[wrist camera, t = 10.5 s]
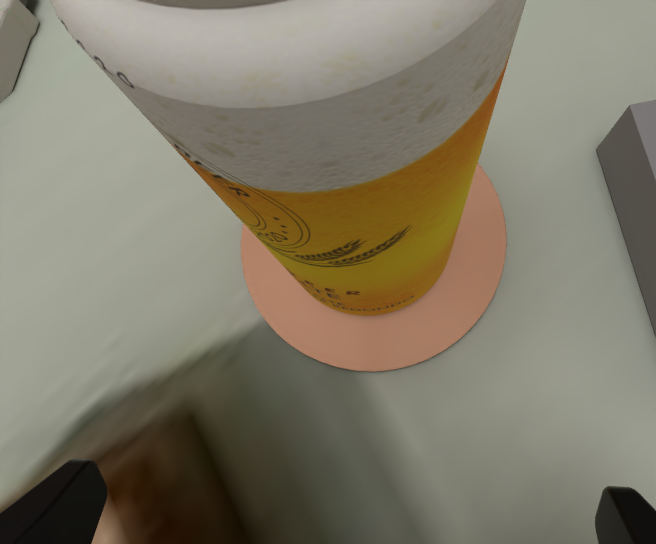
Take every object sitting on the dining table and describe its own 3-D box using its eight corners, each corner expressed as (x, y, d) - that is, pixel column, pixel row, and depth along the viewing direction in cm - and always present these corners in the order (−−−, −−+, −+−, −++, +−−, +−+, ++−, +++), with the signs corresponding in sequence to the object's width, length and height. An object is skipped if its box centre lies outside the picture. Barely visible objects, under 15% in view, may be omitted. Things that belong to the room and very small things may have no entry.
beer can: (261, 223, 20) (-121, -240, 5) (388, 137, 20) (340, -541, 6) (346, 352, 18) (116, 169, 4) (485, 257, 18) (781, -279, 4)
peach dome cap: (533, 348, 18) (537, 346, 17) (259, 391, 19) (254, 390, 18) (471, 102, 20) (472, 94, 20) (234, 152, 22) (229, 145, 21)
